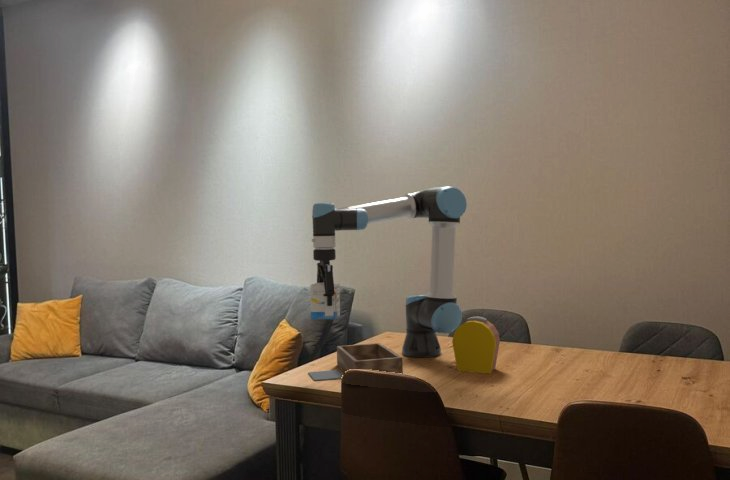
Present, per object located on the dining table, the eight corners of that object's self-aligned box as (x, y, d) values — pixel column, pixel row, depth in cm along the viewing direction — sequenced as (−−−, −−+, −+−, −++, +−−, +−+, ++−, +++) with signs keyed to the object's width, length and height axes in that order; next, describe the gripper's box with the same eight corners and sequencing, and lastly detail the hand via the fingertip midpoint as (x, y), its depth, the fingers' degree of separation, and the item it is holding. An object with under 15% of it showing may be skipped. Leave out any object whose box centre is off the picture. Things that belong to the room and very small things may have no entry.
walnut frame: (380, 361, 240) (379, 342, 240) (402, 378, 214) (402, 357, 214) (337, 365, 236) (336, 346, 235) (355, 382, 210) (354, 361, 210)
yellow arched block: (500, 368, 226) (500, 316, 225) (495, 374, 218) (494, 320, 217) (459, 365, 232) (458, 314, 231) (452, 370, 224) (451, 318, 224)
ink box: (335, 319, 214) (334, 284, 214) (310, 319, 216) (309, 284, 215) (340, 315, 223) (340, 281, 222) (317, 315, 224) (316, 281, 224)
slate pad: (339, 370, 227) (339, 369, 227) (346, 378, 216) (346, 377, 216) (308, 373, 224) (308, 372, 224) (314, 381, 213) (314, 379, 213)
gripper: (307, 247, 229) (308, 309, 230) (320, 250, 206) (321, 318, 207) (327, 246, 231) (329, 307, 232) (343, 249, 208) (344, 317, 209)
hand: (325, 313), depth 219 cm, fingers closed on ink box, 11 cm apart
